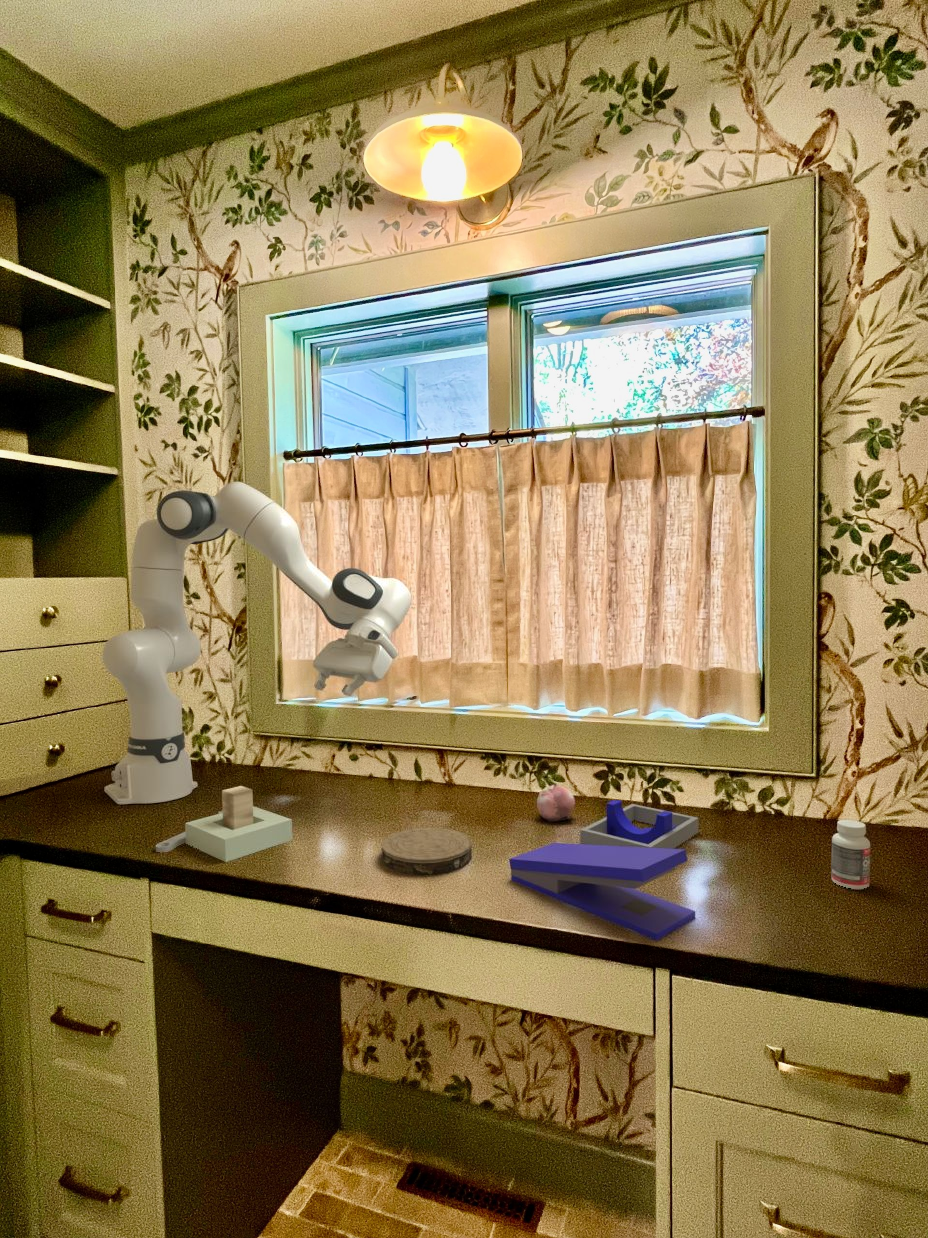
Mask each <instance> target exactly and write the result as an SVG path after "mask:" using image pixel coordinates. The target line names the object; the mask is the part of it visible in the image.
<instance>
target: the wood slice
mask: <svg viewBox="0 0 928 1238" xmlns="http://www.w3.org/2000/svg"><path fill="white" fill-rule="evenodd" d="M472 850H473V848H472V841H471V837H469V836H468V835H467V834H465V833H464V832H461V831H458V830H454V829H449V828H443V827H418V828H411V829H406V830H402V831H399V832H398V831H397V832H395V833H393V834H391V835H389V836H387V837H386V838H385V839H383V841H382V846H381V856H382V857H381V862H382V863H383V865H384V866H385V867H386V868H387V869H389V870H391V871H393V872H395V873H399V874H401V875H408V876H418V877H424V876H426V877H427V876H429V877H430V876H440V875H446V874H450V873H453V872H457V871H460V870H461V869H463V868H465V867H466V866H469V864H470V863H471V861H472V859H473V858H472V857H473V856H472V854H473V853H472V852H473V851H472Z"/></svg>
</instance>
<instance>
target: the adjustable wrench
mask: <svg viewBox="0 0 928 1238" xmlns="http://www.w3.org/2000/svg"><path fill="white" fill-rule="evenodd" d="M220 813H223V809H222V810H221V811H217V814H220ZM183 843H185V844H186V833H185V831H183V832H181V833H179V834H177V835H174V836H172V837H171V838H168V839H165V840H163V841H160V842H159V843H157V844H155V852H156V853H157V852H160V853H159V854H161V853H162V852H164V853H168V852H170V851H172V850H174V848H175V849H176V847H177V846H179V845H181V844H183ZM183 845H184V844H183ZM181 846H182V845H181ZM179 847H180V846H179ZM177 848H178V847H177ZM162 854H163V853H162Z"/></svg>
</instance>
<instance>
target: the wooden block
mask: <svg viewBox="0 0 928 1238" xmlns="http://www.w3.org/2000/svg"><path fill="white" fill-rule="evenodd" d="M253 791H254V790H253V789H251V788H249V787H246V786H243V785H239V786H235V787H230V788H227V789H222V790H221V798H222V799H221V802H222V804H221V805H222V810H223V827H226V828H228V829H231V830H234V829H238V828H241V827H245V826H248V825H251V824H253V806H254V802H253V801H254V800H253V799H254V797H253V795H254V794H253Z"/></svg>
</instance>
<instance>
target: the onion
mask: <svg viewBox="0 0 928 1238" xmlns="http://www.w3.org/2000/svg"><path fill="white" fill-rule="evenodd" d="M536 806H537V810H538V813H539V814H540V816H541V817H542V818H543V819H544V820H546V821H548V823H553V822H559V821H565V820H568V819H571V817H570V814H571V813H572V811H573V810H574V809H575V806H576V800H575V797H574V795H573V794H572V793H571V791H569V789H566V788H565V787H563V786H559V785H555V784H551V785H550V786H546V787H544V788H543V789H542V790H541V791H539V793H538V797H537V799H536Z"/></svg>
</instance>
